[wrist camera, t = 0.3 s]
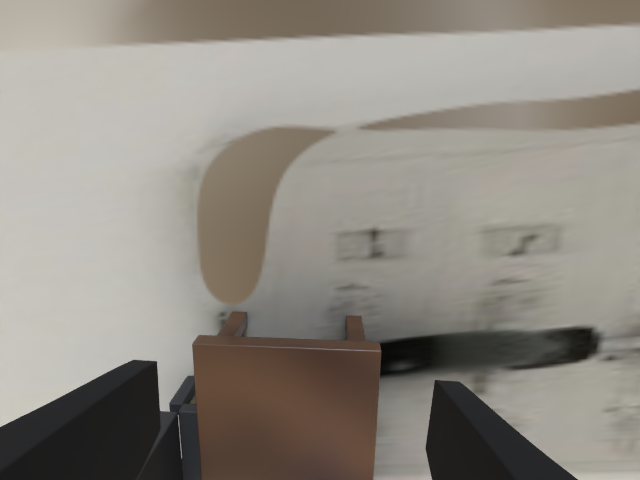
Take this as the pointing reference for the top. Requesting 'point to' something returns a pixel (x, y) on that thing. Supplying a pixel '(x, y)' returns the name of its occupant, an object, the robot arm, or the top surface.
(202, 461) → the brown toy table
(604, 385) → the top surface
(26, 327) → the top surface
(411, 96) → the top surface
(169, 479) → the chair
